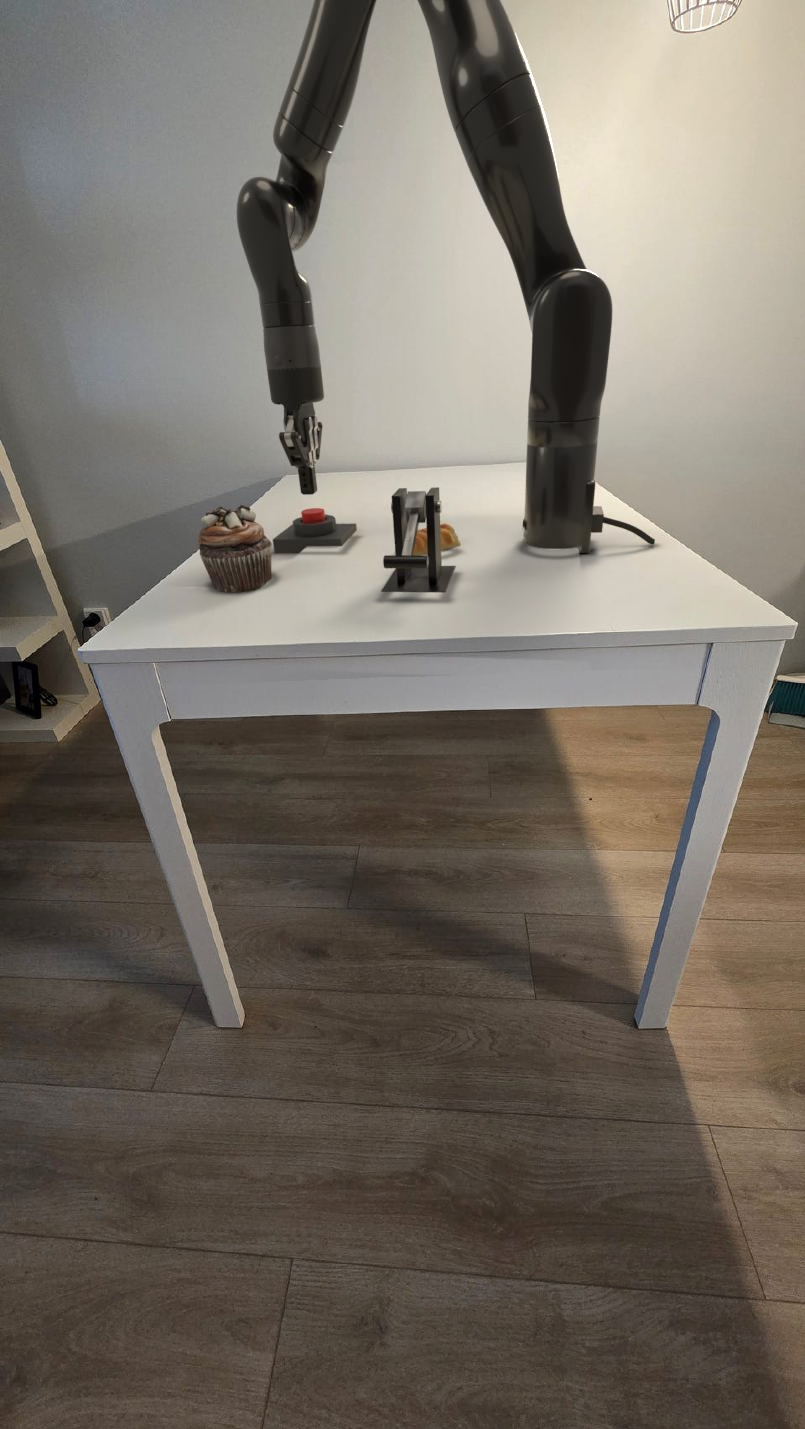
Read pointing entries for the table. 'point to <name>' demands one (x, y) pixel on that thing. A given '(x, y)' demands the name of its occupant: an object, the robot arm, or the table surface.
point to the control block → (312, 535)
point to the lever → (410, 534)
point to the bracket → (435, 574)
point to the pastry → (447, 539)
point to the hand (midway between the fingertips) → (309, 493)
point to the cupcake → (235, 550)
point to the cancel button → (313, 515)
